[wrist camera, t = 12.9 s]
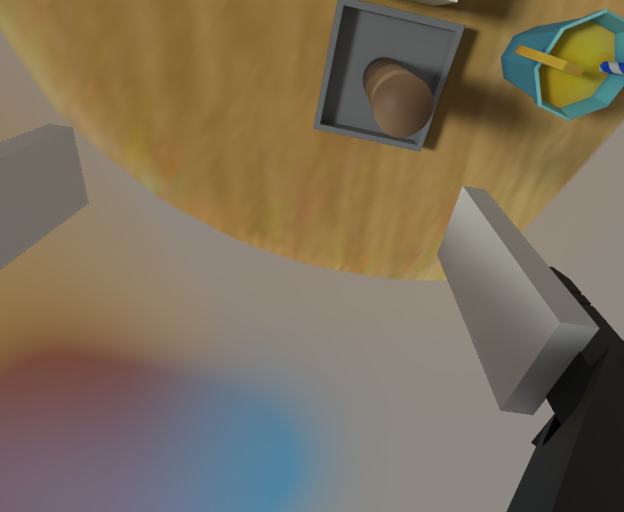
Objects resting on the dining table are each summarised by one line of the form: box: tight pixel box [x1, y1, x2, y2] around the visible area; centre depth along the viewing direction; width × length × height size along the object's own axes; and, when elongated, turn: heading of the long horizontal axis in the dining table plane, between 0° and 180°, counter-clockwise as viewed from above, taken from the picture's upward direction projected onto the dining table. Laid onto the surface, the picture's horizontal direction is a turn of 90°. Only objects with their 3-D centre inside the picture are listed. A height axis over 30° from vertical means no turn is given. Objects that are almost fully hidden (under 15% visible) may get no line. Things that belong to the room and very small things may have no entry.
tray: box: [313, 0, 465, 152], centre depth 39 cm, size 12×12×2 cm
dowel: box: [363, 57, 434, 138], centre depth 32 cm, size 4×4×16 cm
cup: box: [501, 9, 624, 121], centre depth 31 cm, size 14×8×15 cm, turn 90°
